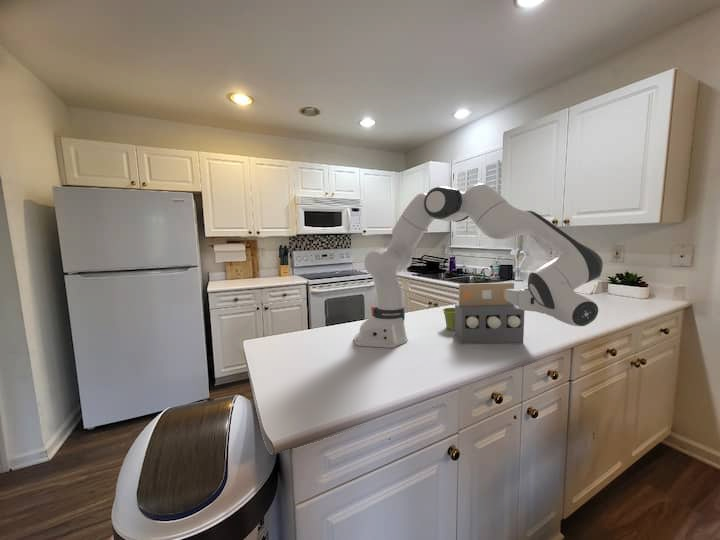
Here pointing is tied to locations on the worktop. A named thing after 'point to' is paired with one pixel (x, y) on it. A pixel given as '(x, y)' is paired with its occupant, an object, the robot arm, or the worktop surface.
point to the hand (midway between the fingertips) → (526, 291)
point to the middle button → (493, 322)
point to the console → (487, 314)
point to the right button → (513, 321)
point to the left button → (471, 321)
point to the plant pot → (450, 318)
